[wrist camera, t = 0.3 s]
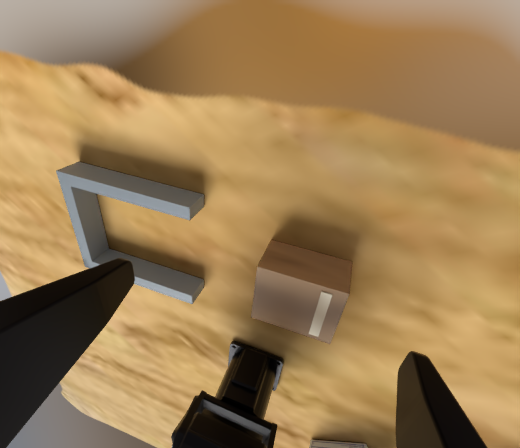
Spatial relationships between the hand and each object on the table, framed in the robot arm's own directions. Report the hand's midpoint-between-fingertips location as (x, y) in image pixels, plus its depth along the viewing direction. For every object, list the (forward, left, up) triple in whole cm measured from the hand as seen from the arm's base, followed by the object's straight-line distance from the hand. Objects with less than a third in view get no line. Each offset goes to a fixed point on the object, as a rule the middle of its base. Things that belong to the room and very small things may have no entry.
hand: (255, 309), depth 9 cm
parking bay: (-11, +15, -14) cm, 23 cm away
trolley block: (-11, -1, -14) cm, 18 cm away
